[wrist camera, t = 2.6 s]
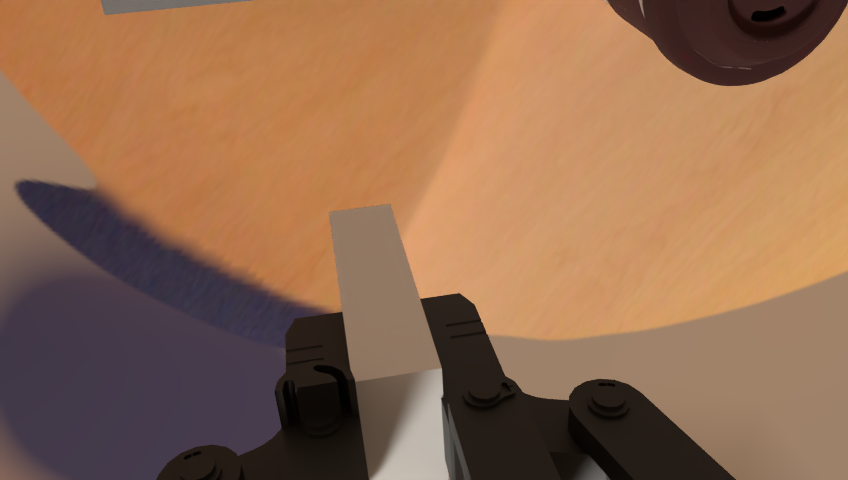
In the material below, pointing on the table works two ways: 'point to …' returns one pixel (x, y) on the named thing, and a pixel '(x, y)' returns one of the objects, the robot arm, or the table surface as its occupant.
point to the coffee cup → (733, 34)
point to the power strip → (153, 5)
